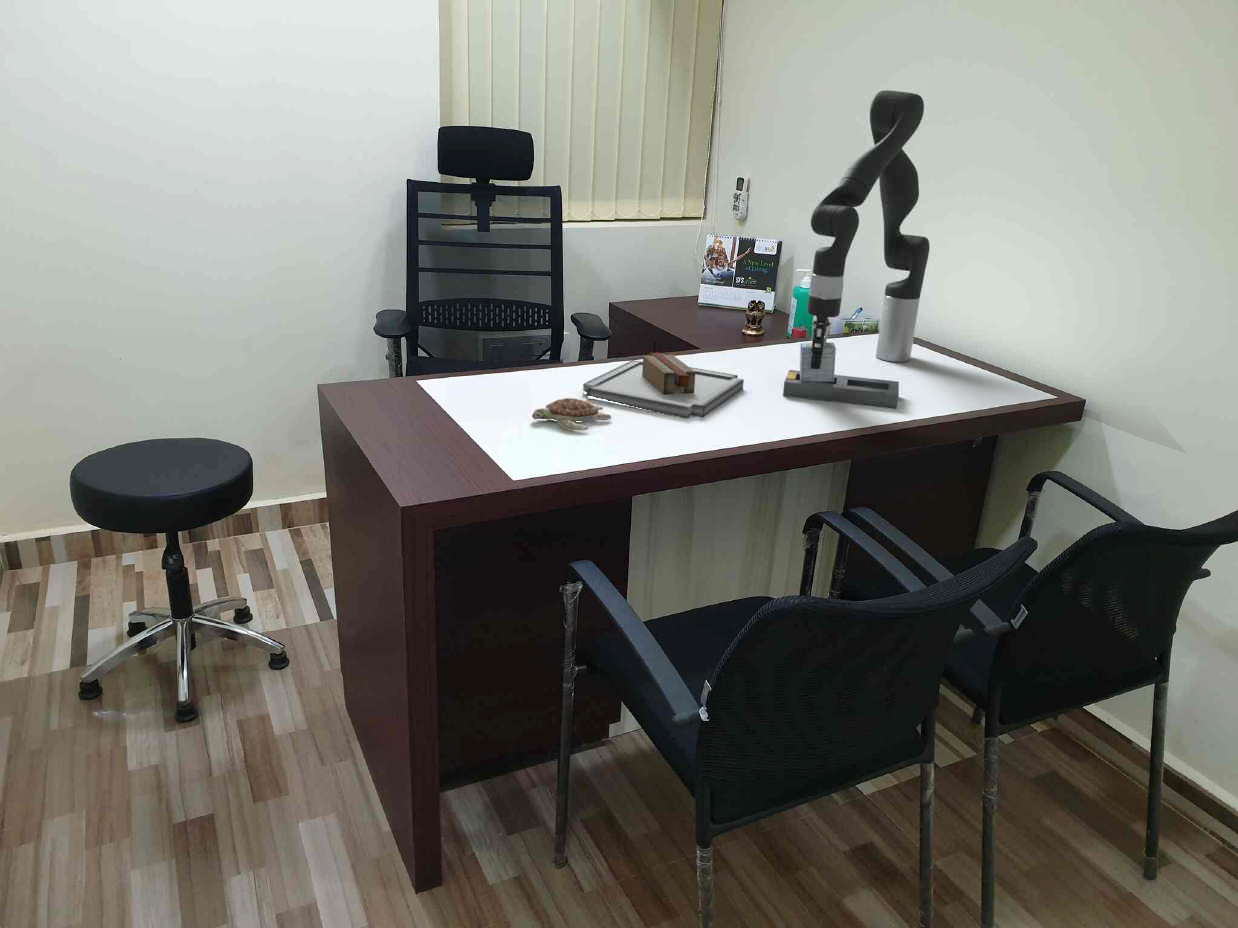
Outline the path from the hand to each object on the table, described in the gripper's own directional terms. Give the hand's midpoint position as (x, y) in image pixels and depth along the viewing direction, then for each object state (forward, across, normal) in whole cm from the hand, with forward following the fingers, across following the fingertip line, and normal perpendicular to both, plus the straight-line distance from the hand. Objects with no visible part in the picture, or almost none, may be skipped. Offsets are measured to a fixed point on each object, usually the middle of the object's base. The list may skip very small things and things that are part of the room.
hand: (816, 365), depth 216 cm
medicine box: (+4, 0, 0) cm, 4 cm away
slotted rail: (+7, 0, +6) cm, 9 cm away
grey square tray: (+8, +13, -34) cm, 37 cm away
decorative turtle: (+8, +40, -48) cm, 63 cm away
